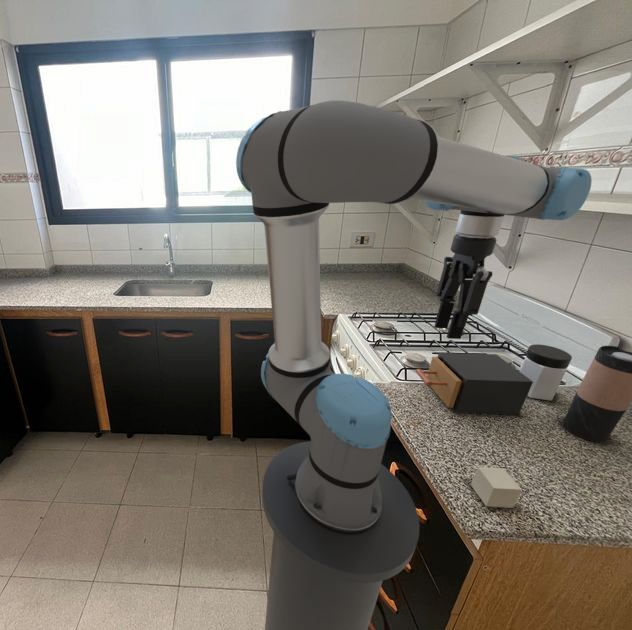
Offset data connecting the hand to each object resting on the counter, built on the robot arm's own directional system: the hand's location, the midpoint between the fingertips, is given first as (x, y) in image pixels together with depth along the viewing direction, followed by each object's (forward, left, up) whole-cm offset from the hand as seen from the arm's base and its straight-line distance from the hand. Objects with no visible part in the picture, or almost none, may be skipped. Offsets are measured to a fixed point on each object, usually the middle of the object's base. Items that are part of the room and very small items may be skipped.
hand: (446, 332), depth 83 cm
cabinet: (+11, 0, -19) cm, 22 cm away
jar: (+29, +4, -19) cm, 35 cm away
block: (-3, -30, -19) cm, 36 cm away
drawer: (+6, 0, -18) cm, 19 cm away
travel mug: (+29, -11, -19) cm, 36 cm away
